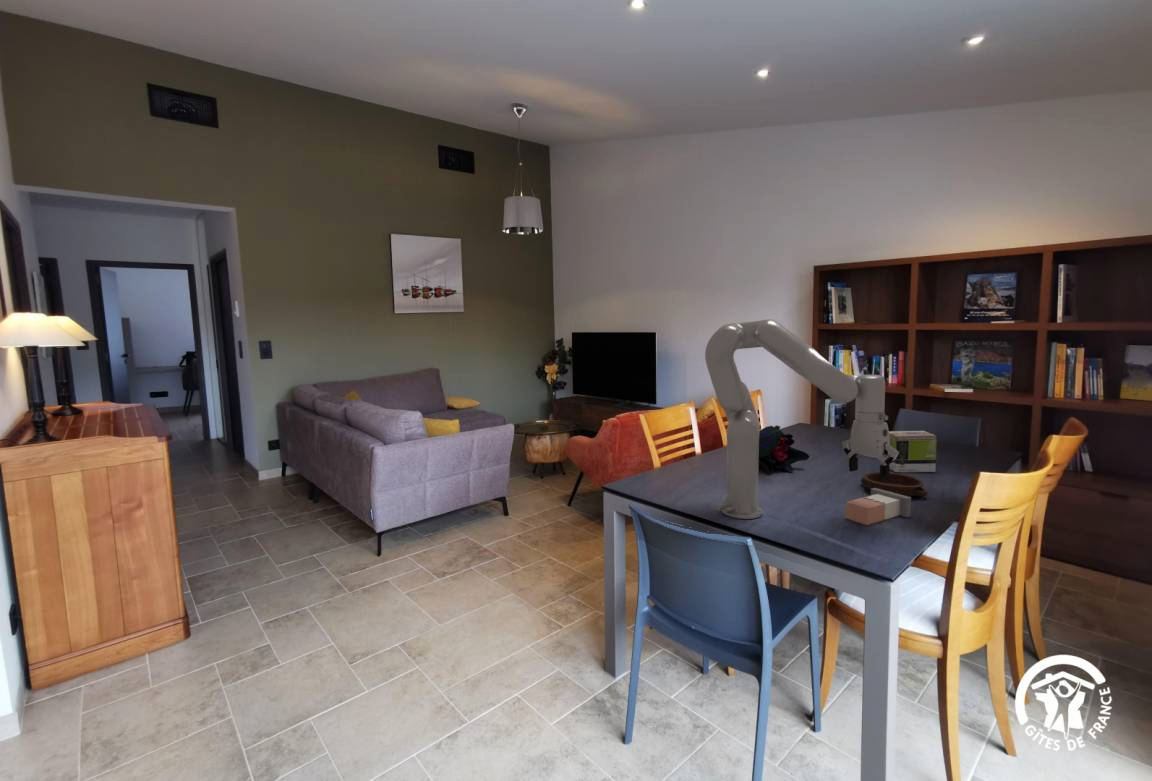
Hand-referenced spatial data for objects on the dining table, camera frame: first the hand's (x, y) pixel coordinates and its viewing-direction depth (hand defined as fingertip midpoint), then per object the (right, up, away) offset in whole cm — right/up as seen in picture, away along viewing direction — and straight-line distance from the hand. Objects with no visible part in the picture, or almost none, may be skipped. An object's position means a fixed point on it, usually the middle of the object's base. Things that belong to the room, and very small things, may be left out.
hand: (868, 474), depth 168 cm
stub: (0, -14, +2) cm, 14 cm away
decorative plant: (-6, -7, +60) cm, 61 cm away
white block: (+9, -14, +7) cm, 18 cm away
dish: (+24, -11, +30) cm, 40 cm away
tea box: (+45, -7, +57) cm, 73 cm away
